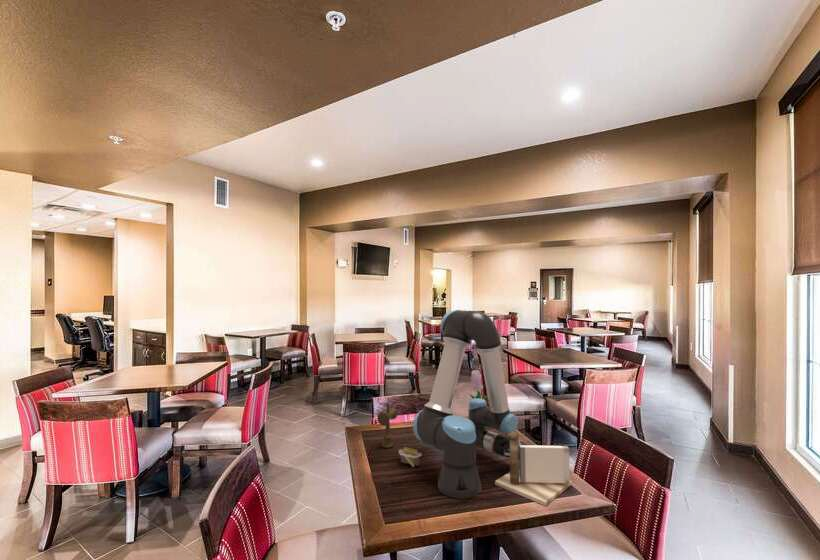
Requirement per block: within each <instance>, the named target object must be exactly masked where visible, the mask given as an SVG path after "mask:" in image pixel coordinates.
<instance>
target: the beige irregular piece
mask: <svg viewBox="0 0 820 560" xmlns="http://www.w3.org/2000/svg"><path fill="white" fill-rule="evenodd" d="M398 454H399V455H400V462H401V463H403V464H409V465H411V467H413V468H414V467H415V466H418V467H419V466H420V457H423V456H422V455H423V453H422V452H418V450H417V449H414V448H409V447H403V448H402V449H398Z"/></svg>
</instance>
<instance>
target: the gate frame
mask: <svg viewBox="0 0 820 560" xmlns="http://www.w3.org/2000/svg"><path fill="white" fill-rule="evenodd" d="M508 438H509V440H510V458H509V472H508V473H506V474H504V475H503V476H501V477H499V478H498V479H496V480H495V481H494V484H495V486H498V487H500V488H502V489H504V490H507V491H509V492H512V493H514V494H516V495H519V496H521V497H524V498H525V499H529V500H530V501H532V502H536V503H538V504H540V505H543V506H545V507H547V505H549V504H550V503H552V501H554V500H555V499H556V498H558V497H559V496H560V495H561V494H562V493H563V492H564V491H565V490H567V489H569V487H570V486H572V483H573V482H572V480H570V483H543V482H521V481H520V477H519V448H518V444H519V438H520V434H519V432H517V431H516V430H515V431H511V432H510V433H509V434H508Z"/></svg>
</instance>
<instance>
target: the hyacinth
mask: <svg viewBox="0 0 820 560" xmlns="http://www.w3.org/2000/svg"><path fill="white" fill-rule="evenodd" d="M482 376H483V375H481V372H480V371H479V369H474V370H472V371H471V377H470V379H471V380H470V382H471V386H472V387H471V388H472V389H473V391H474V392H476V393H477V394H476V396H474V395H473V394H469V396H470V397H471V399H475V398H479V399H484V400H485V401H486V399H488V395H483V396H482V393H481V392H480V391H482V390H483V389H484V385H483V384H482Z"/></svg>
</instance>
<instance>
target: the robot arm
mask: <svg viewBox="0 0 820 560" xmlns="http://www.w3.org/2000/svg"><path fill="white" fill-rule="evenodd" d="M440 330H441V334H442V340H443V342H444V345H443V350H442V352H441V357H440V360H439V365H438V368H437V372H436V375H435V379H434V383H433V386H432V390H431V393H430V398H429V401H428V402H427V403H425V404H424V406H423V409H422V410H419V411H418V413H416V414H415V416H414V419H413V423H412V428H413V433H414V435H415V437H416V439H417V440H418V441H420V442H421V443H423V444H424V445H427V446H430V447H432V448H434V449H436V450H438V451H441V452H442V466H441V469H440V472H439V475H438V480H437V487H438V488H437V489H438V490H439V492H440V493H441V494H442V495H444V496H447V497H449V498H454V499H461V500H462V499H464V500H465V499H471V498H475V497H477V496H478V495H479V494H480V493H481V492H482V481H481V479H480V475H479V472H478V469H477V448H479V449H482V450H485V451H488V452H490V453H493V454H496V455H498V456H502V457H504V458H509V459H510V438H509V436H507V435H503V434H499V433H497V432H495V431H491V430H487V427H488V428H491V429H494V430H497V431H499V432H501V433H504V434H508V435H509V433H510V432H511V431H516V430H517V429H518V426H519V425H518V424H519V421H518V417H517V416H516V415H515V414H513V413H512V412H511V411H510V407H509V406H510V405H509V400H508V394H507V393H508V392H507V389H506V383H505V382H506V381H505V376H504V369H503V364H502V358H501V353H500V347H501V346H502V342H501V337H500V334H499V331H498V329H497V326H496V325H495V322H494V321H493V319H492V318H491V317H490V316H488V314H487V313H484V312H482V311H480V310H479V311H478V310H461V309H456V310H450V311H448V312H446V313H445V314H444V315H443V317H442V319H441V322H440ZM472 341H474V343H475V347H476V349H477V350H478V351H479V355H480V356H479V357H480V361H481V367H482V371H483V377H484V383H485V388H486V394H487V395H488V397H487V399H488V404H487V400H486V399H485V400H484V399H482V398H481V399H479V398H475V399H472V398H471V399H469V402H468V418H467V417H465V416H459V415H455V414H454V413H453V411H452V409H451V407H452V403H453V398H454V395H455V391H456V387H457V384H458V380H459V376H460V371H461V367H462V364H463V359H464V357H465V351H466V349H467V348H469V347H471V343H472ZM487 395H486V396H487ZM488 405H489V406H488ZM519 445H528V444H527V443H524V441H519V443H518V448H519Z"/></svg>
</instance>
